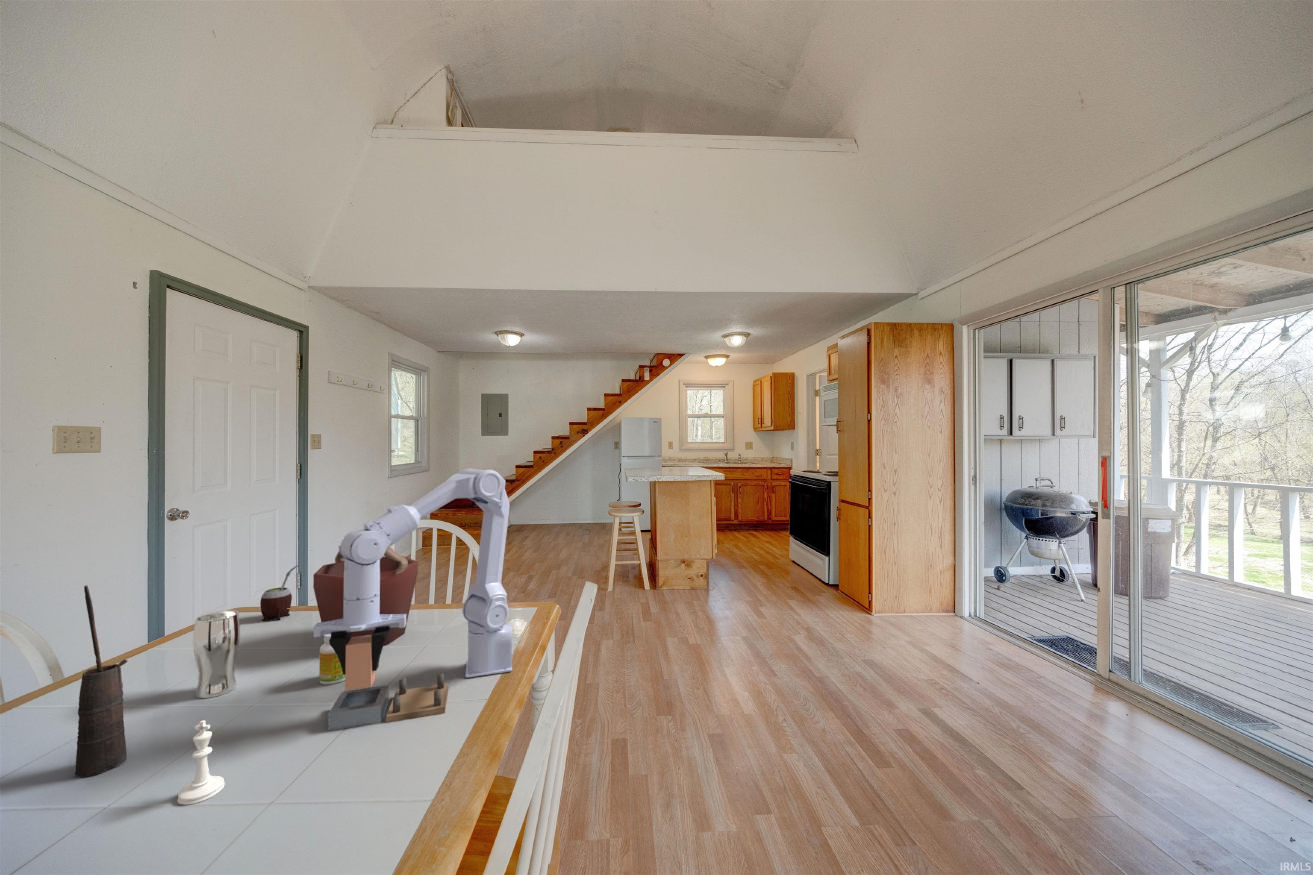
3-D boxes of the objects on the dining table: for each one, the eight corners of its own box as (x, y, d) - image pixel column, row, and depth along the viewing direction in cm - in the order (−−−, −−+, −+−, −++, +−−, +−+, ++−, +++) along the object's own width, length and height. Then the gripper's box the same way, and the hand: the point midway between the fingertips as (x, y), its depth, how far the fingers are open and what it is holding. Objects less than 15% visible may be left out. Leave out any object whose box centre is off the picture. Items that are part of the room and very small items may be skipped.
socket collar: (389, 700, 95) (389, 684, 95) (380, 722, 87) (381, 705, 87) (341, 707, 92) (341, 691, 92) (328, 730, 85) (328, 713, 85)
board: (448, 688, 99) (448, 670, 100) (444, 712, 90) (445, 693, 90) (395, 696, 96) (395, 678, 96) (386, 722, 87) (386, 702, 87)
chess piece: (197, 781, 72) (198, 712, 72) (233, 779, 72) (234, 710, 72) (167, 805, 67) (168, 732, 67) (205, 803, 67) (206, 730, 68)
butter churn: (149, 736, 83) (152, 570, 83) (156, 759, 77) (159, 579, 77) (64, 763, 76) (68, 581, 76) (65, 791, 70) (68, 593, 70)
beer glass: (246, 686, 100) (247, 612, 100) (203, 702, 94) (204, 623, 94) (227, 679, 103) (228, 607, 103) (185, 694, 97) (186, 618, 97)
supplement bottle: (334, 686, 100) (335, 638, 100) (312, 683, 101) (313, 636, 102) (355, 674, 106) (356, 628, 106) (334, 671, 107) (335, 627, 107)
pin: (375, 677, 92) (376, 634, 92) (370, 687, 88) (371, 642, 89) (351, 680, 91) (351, 637, 91) (345, 690, 87) (345, 645, 87)
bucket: (429, 639, 125) (430, 540, 125) (328, 668, 108) (329, 555, 109) (392, 616, 141) (392, 529, 141) (299, 639, 124) (300, 540, 125)
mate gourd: (257, 618, 140) (258, 565, 140) (291, 611, 146) (291, 560, 146) (264, 624, 135) (264, 569, 135) (298, 616, 141) (299, 564, 141)
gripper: (307, 606, 84) (306, 686, 84) (402, 598, 89) (401, 673, 88) (321, 594, 91) (320, 668, 90) (408, 587, 95) (407, 657, 95)
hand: (361, 670), depth 90 cm, fingers closed on pin, 4 cm apart
